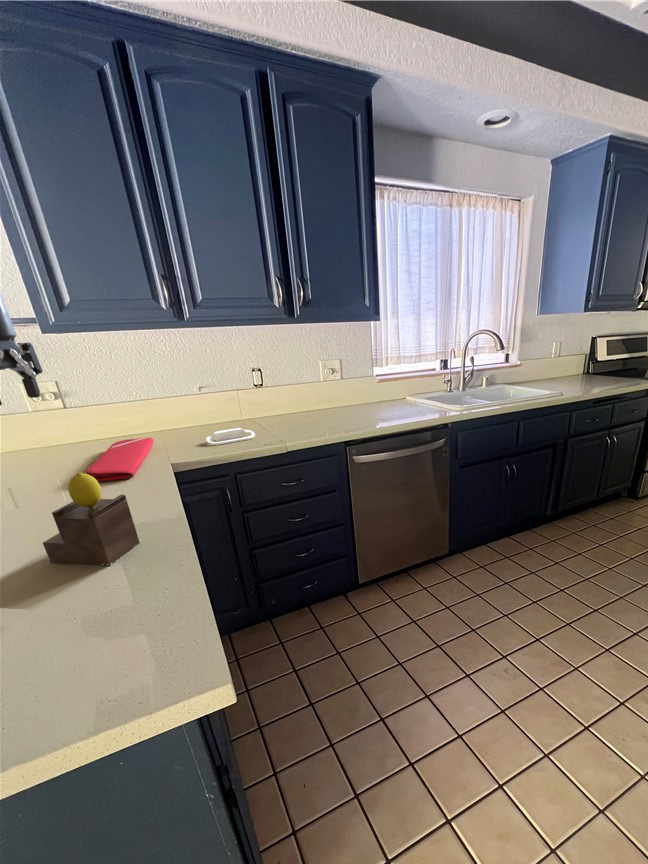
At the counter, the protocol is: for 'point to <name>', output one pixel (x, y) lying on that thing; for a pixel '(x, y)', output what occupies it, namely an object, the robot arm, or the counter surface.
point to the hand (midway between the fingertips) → (15, 401)
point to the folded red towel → (121, 460)
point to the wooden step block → (92, 533)
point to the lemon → (85, 490)
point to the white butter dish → (229, 436)
